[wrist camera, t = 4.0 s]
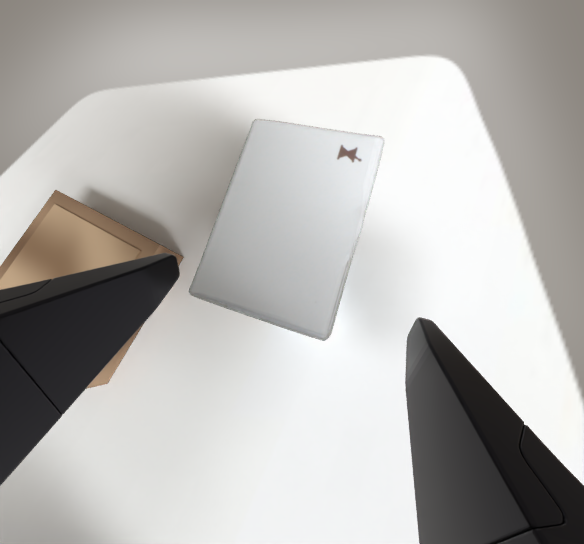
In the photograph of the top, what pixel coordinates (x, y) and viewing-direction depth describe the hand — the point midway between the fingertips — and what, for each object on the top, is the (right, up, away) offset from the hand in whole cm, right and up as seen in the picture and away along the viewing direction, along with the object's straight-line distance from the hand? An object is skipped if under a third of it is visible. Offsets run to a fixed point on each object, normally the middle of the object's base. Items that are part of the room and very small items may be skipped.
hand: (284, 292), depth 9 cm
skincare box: (+2, 0, +10) cm, 10 cm away
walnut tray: (-16, -1, +12) cm, 20 cm away
